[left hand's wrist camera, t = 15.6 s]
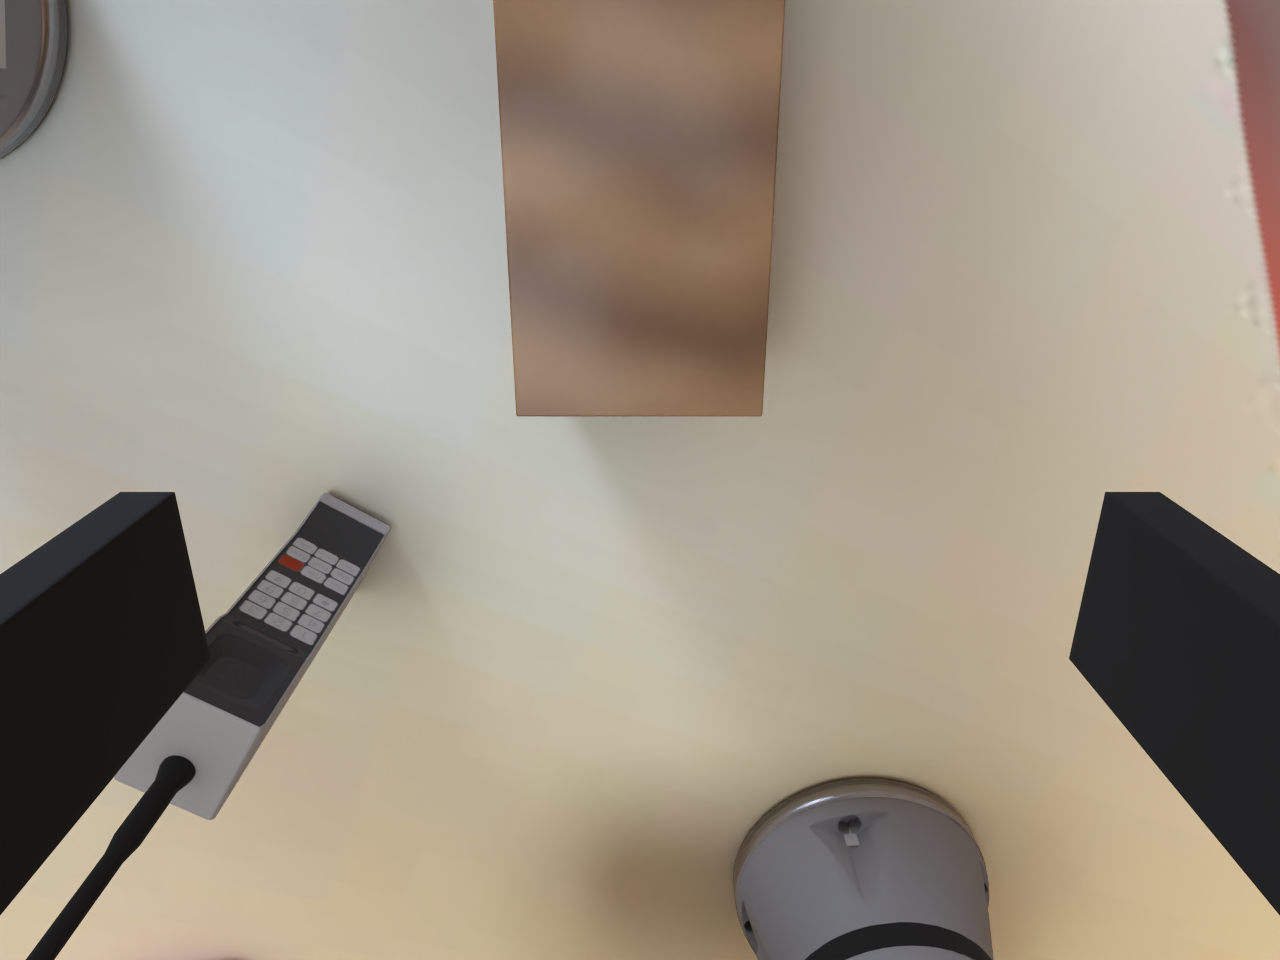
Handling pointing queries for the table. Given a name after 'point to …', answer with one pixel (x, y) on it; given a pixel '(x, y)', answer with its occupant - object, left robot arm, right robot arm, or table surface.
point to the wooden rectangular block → (639, 202)
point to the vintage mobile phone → (236, 688)
